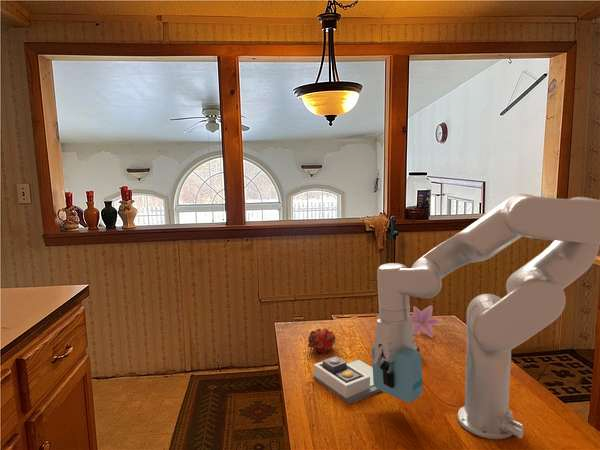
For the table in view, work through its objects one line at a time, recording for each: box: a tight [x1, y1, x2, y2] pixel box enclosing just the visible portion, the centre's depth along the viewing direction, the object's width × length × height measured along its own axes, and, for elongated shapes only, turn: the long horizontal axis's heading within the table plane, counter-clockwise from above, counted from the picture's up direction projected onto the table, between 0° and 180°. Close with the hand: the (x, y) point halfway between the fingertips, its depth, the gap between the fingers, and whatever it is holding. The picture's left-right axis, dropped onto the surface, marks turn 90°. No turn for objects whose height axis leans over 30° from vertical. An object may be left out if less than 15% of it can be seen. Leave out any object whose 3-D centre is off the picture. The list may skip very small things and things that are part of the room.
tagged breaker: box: [335, 369, 360, 383], centre depth 114 cm, size 5×5×3 cm
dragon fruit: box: [307, 328, 337, 354], centre depth 140 cm, size 8×8×12 cm
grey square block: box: [322, 355, 348, 375], centre depth 119 cm, size 5×5×3 cm
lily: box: [410, 304, 441, 338], centre depth 154 cm, size 12×12×10 cm
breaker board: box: [312, 358, 381, 405], centre depth 119 cm, size 17×18×4 cm
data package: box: [371, 345, 424, 403], centre depth 103 cm, size 12×4×12 cm, turn 42°
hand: (397, 381), depth 103 cm, fingers closed on data package, 5 cm apart
